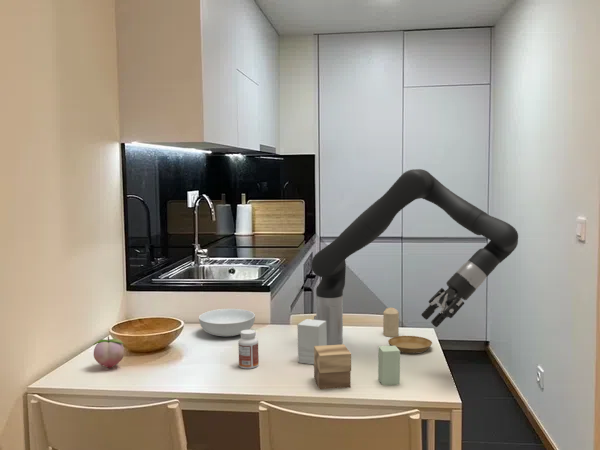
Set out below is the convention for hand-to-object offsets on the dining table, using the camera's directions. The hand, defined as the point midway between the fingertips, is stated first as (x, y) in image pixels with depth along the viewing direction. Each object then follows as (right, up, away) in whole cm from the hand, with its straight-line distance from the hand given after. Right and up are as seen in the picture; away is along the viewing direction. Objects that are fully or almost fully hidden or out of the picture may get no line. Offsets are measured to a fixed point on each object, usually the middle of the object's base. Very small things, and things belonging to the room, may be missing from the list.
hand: (428, 321), depth 176 cm
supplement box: (-33, -16, +19) cm, 42 cm away
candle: (-4, -13, +47) cm, 49 cm away
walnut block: (-28, -18, 0) cm, 33 cm away
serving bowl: (-64, -13, +51) cm, 83 cm away
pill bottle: (-53, -17, +15) cm, 58 cm away
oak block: (-28, -13, -1) cm, 31 cm away
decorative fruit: (-97, -17, +14) cm, 99 cm away
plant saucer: (0, -15, +31) cm, 35 cm away
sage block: (-11, -18, 0) cm, 21 cm away
